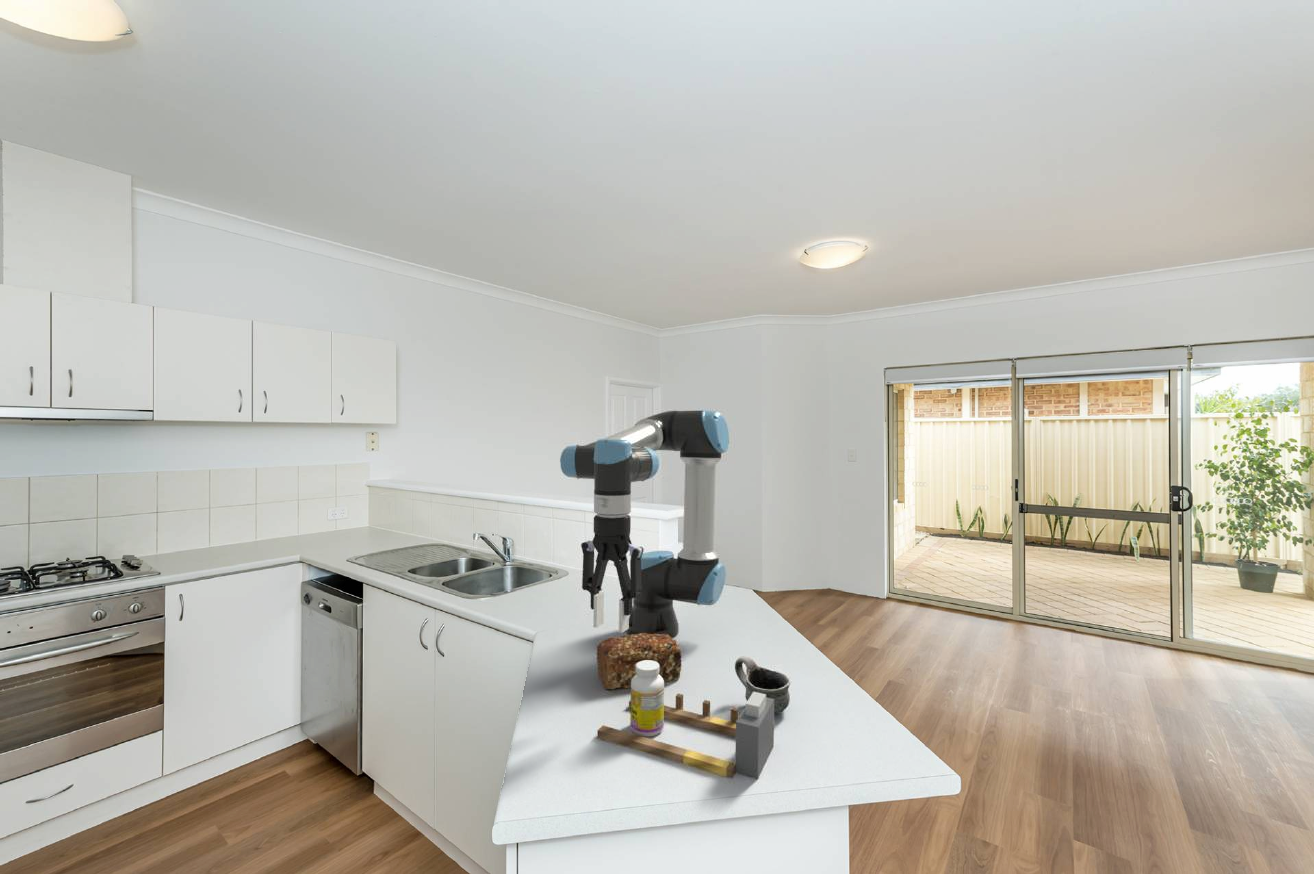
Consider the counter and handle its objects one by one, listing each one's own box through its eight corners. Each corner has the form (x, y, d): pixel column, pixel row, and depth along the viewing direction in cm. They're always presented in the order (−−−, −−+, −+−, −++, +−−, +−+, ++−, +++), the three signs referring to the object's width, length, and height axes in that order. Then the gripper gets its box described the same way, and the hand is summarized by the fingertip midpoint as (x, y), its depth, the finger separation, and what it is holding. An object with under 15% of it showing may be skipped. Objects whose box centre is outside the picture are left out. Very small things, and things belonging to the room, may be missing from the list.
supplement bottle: (629, 720, 113) (630, 658, 112) (661, 719, 113) (662, 657, 113) (630, 739, 106) (631, 672, 106) (665, 737, 106) (666, 671, 106)
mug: (780, 728, 110) (781, 678, 110) (723, 710, 117) (724, 663, 117) (796, 707, 119) (796, 661, 118) (741, 692, 125) (742, 648, 125)
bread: (605, 693, 124) (606, 649, 124) (595, 673, 134) (595, 632, 134) (682, 682, 130) (683, 640, 130) (667, 663, 140) (667, 624, 140)
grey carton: (733, 772, 96) (734, 709, 96) (751, 740, 106) (752, 683, 106) (757, 779, 94) (758, 715, 94) (773, 746, 104) (774, 688, 104)
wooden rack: (597, 738, 106) (597, 717, 106) (636, 701, 120) (636, 683, 120) (731, 778, 94) (732, 755, 94) (757, 732, 108) (757, 712, 108)
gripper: (564, 513, 113) (563, 626, 113) (643, 521, 105) (642, 642, 105) (584, 508, 120) (583, 615, 120) (660, 515, 112) (659, 629, 112)
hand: (611, 627), depth 113 cm, fingers open, 5 cm apart
